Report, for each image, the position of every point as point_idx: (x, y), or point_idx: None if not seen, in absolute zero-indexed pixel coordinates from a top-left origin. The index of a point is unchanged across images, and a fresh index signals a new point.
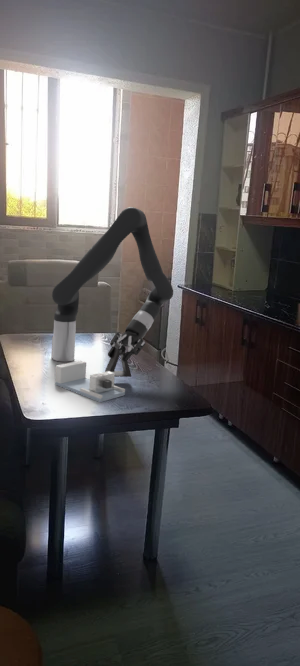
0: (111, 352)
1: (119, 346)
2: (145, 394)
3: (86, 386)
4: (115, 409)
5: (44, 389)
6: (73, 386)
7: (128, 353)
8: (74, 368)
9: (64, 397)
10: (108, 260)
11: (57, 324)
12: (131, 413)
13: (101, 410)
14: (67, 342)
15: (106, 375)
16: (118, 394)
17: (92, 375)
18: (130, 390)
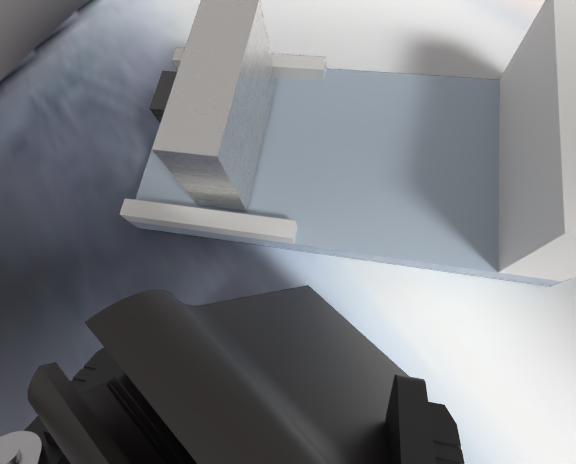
0: (396, 430)
1: (121, 302)
2: (41, 324)
3: (354, 141)
4: (90, 58)
5: (508, 18)
6: (407, 94)
7: None
8: (541, 123)
9: (350, 13)
10: None
11: None
12: (17, 69)
13: (133, 17)
14: None
15: (178, 77)
16: (146, 176)
17: (244, 5)
18: None
